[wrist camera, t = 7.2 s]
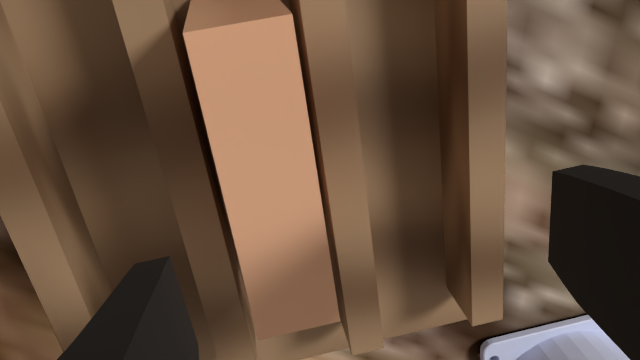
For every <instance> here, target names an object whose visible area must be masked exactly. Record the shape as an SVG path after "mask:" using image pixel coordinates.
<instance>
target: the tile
mask: <svg viewBox="0 0 640 360" xmlns="http://www.w3.org/2000/svg"><path fill="white" fill-rule="evenodd" d="M183 36H184V40H185V44H186V48H187V52H188V57H189V61H190V65H191V69H192V73H193V77H194V81H195V85H196V89H197V93H198V97H199V101H200V105H201V109H202V113H203V117H204V121H205V125H206V129H207V133H208V138H209V142H210V146H211V150H212V154H213V158H214V162H215V166H216V170H217V174H218V178H219V182H220V186H221V190H222V194H223V198H224V202H225V206H226V210H227V214H228V219H229V223H230V227H231V231H232V235H233V239H234V243H235V247H236V251H237V255H238V259H239V263H240V267H241V271H242V275H243V279H244V283H245V287H246V291H247V295H248V299H249V304H250V308H251V312H252V316H253V320H254V324H255V328H256V332H257V336H258V340H263V339H267V338H271V337H275V336H280V335H284V334H288V333H293V332H297V331H301V330H305V329H310V328H314V327H318V326H322V325H327V324H331V323H335V322H339V321H340V316H339V310H338V303H337V297H336V291H335V284H334V278H333V271H332V265H331V259H330V252H329V246H328V239H327V233H326V226H325V220H324V214H323V207H322V201H321V194H320V188H319V182H318V175H317V169H316V162H315V156H314V149H313V143H312V137H311V130H310V124H309V117H308V111H307V105H306V98H305V92H304V85H303V79H302V72H301V66H300V60H299V53H298V47H297V40H296V34H295V27H294V21H293V15H292V13H291V12H290V11H289V10H288V8H287V7H286V6H285V5H284V4H283V3H282V2H281V1H280V0H191V1H190V5H189V9H188V13H187V17H186V21H185V25H184V29H183Z"/></svg>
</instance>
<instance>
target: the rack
mask: <svg viewBox="0 0 640 360" xmlns="http://www.w3.org/2000/svg"><path fill="white" fill-rule="evenodd" d="M190 1H191V0H0V216H1V218H2V220H3V222H4V224H5V227H6V229H7V231H8V233H9V235H10V237H11V240H12V242H13V244H14V246H15V248H16V250H17V252H18V255H19V257H20V259H21V261H22V263H23V265H24V268H25V270H26V272H27V274H28V276H29V278H30V281H31V283H32V285H33V287H34V289H35V291H36V294H37V296H38V298H39V300H40V302H41V304H42V307H43V309H44V311H45V313H46V315H47V317H48V319H49V322H50V324H51V326H52V328H53V330H54V332H55V335H56V337H57V339H58V341H59V343H60V345H61V348H62V350H63V352H64V351H65V350H66V349H67V348H68V347H69V346H70V344H71V343H72V342H73V341H74V340H75V339H76V337H77V336H78V335H79V334H80V332H81V331H82V330H83V329H84V327H85V326H86V325H87V324H88V322H89V321H90V320H91V319H92V317H93V316H94V315H95V314H96V312H97V311H98V310H99V309H100V307H101V306H102V305H103V303H104V302H105V301H106V300H107V298H108V297H109V296H110V294H111V293H112V292H113V291H114V289H115V288H116V287H117V285H118V284H119V283H120V281H121V280H122V279H123V278H124V276H125V275H126V274H127V273H128V271H129V270H130V269H131V268H132V267H133V265H134V264H135V263H140V262H144V261H149V260H153V259H158V258H163V257H167V256H170V258H171V261H172V264H173V267H174V270H175V274H176V277H177V280H178V283H179V286H180V289H181V292H182V295H183V298H184V301H185V305H186V308H187V311H188V314H189V317H190V320H191V323H192V326H193V329H194V332H195V336H196V339H197V342H198V348H199V360H299V359H303V358H308V357H312V356H316V355H320V354H324V353H328V352H333V351H337V350H341V349H345V348H349V347H350V350H351V353H352V355H356V354H360V353H364V352H368V351H373V350H377V349H381V348H384V343H383V339H387V338H391V337H395V336H399V335H403V334H408V333H412V332H416V331H420V330H424V329H428V328H433V327H437V326H441V325H445V324H449V323H453V322H458V321H462V320H466V319H468V321H469V322H470V324H471V325H472V326H476V325H480V324H484V323H488V322H493V321H497V320H501V319H503V266H504V202H505V137H506V72H507V8H508V0H280V1H281V2H282V3H283V4H284V5H285V6H286V7H287V8H288V10H289V11H290V12H291V13H292V15H293V21H294V27H295V34H296V40H297V47H298V53H299V60H300V66H301V72H302V79H303V85H304V92H305V98H306V105H307V111H308V117H309V124H310V130H311V137H312V143H313V149H314V156H315V162H316V169H317V175H318V182H319V188H320V194H321V201H322V207H323V214H324V220H325V226H326V233H327V239H328V246H329V252H330V259H331V265H332V271H333V278H334V284H335V291H336V297H337V303H338V310H339V316H340V321H339V322H335V323H331V324H327V325H322V326H318V327H314V328H310V329H305V330H301V331H297V332H293V333H288V334H284V335H280V336H275V337H271V338H267V339H263V340H258V336H257V332H256V328H255V324H254V320H253V316H252V312H251V308H250V304H249V299H248V295H247V291H246V287H245V283H244V279H243V275H242V271H241V267H240V263H239V259H238V255H237V251H236V247H235V243H234V239H233V235H232V231H231V227H230V223H229V219H228V214H227V210H226V206H225V202H224V198H223V194H222V190H221V186H220V182H219V178H218V174H217V170H216V166H215V162H214V158H213V154H212V150H211V146H210V142H209V138H208V133H207V129H206V125H205V121H204V117H203V113H202V109H201V105H200V101H199V97H198V93H197V89H196V85H195V81H194V77H193V73H192V69H191V65H190V61H189V57H188V52H187V48H186V44H185V40H184V36H183V29H184V25H185V21H186V17H187V13H188V9H189V5H190Z"/></svg>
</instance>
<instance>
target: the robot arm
mask: <svg viewBox="0 0 640 360" xmlns="http://www.w3.org/2000/svg"><path fill="white" fill-rule="evenodd" d="M548 262H549V263H550V265H551V266H552V268H553V269H554V270H555V272H556V273H557V275H558V276H559V278H560V279H561V281H562V282H563V284H564V285H565V287H566V288H567V289H568V291H569V292H570V293H571V295H572V296H573V298H574V299H575V300H576V302H577V303H578V304H579V305H580V306H581V307H582V309H583V310H584V311H585V312H586V313H587V314H588V315H585V316H580V317H576V318H572V319H568V320H564V321H560V322H556V323H552V324H548V325H544V326H540V327H536V328H532V329H527V330H523V331H519V332H515V333H511V334H507V335H503V336H499V337H495V338H491V339H488V340H486V341H485V342H483V344H482V345H481V348H480V360H640V177H639V176H635V175H631V174H627V173H623V172H619V171H614V170H610V169H605V168H600V167H594V166H588V165H580V166H575V167H571V168H566V169H562V170H557V171H553V175H552V195H551V215H550V236H549V256H548ZM492 356H493V357H492ZM491 357H492V358H491ZM57 360H199V348H198V342H197V339H196V336H195V332H194V329H193V326H192V323H191V320H190V317H189V314H188V311H187V308H186V305H185V301H184V298H183V295H182V292H181V289H180V286H179V283H178V280H177V277H176V274H175V270H174V267H173V264H172V261H171V258H170V256H167V257H163V258H158V259H153V260H149V261H144V262H140V263H135V264H134V265H133V267H132V268H131V269H130V270H129V271H128V273H127V274H126V275H125V276H124V278H123V279H122V280H121V281H120V283H119V284H118V285H117V287H116V288H115V289H114V291H113V292H112V293H111V294H110V296H109V297H108V298H107V300H106V301H105V302H104V303H103V305H102V306H101V307H100V309H99V310H98V311H97V312H96V314H95V315H94V316H93V317H92V319H91V320H90V321H89V322H88V324H87V325H86V326H85V327H84V329H83V330H82V331H81V332H80V334H79V335H78V336H77V337H76V339H75V340H74V341H73V342H72V343H71V344H70V346H69V347H68V348H67V349H66V350H65V351H64V352H63V354H62V355H61V356H60V357H59V358H58V359H57Z"/></svg>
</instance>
